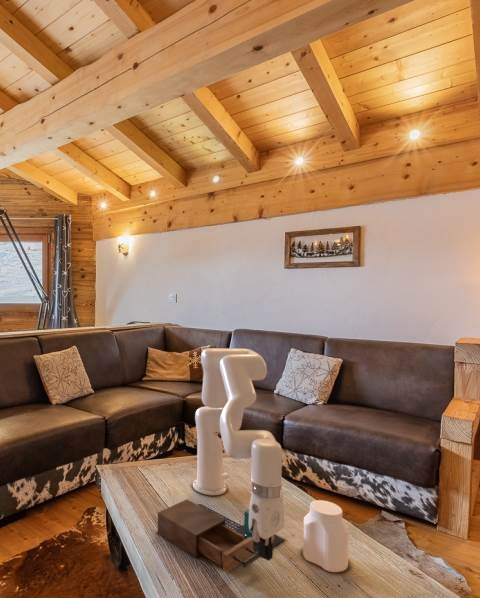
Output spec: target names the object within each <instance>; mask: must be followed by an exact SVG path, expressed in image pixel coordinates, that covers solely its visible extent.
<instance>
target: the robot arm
mask: <svg viewBox="0 0 480 598" xmlns="http://www.w3.org/2000/svg"><path fill="white" fill-rule="evenodd" d="M200 364H201V367H202V371H203V377H202V388H201V402H202V404H203V405H204V406H201V407H198V409H196V411H195V412H194V413H195V414H194V421H195V427H196V439H197V440H196V442H197V443H196V451H197V452H196V458H197V460H196V479H194V480H193V482H192V488H193V490H195V491H196V492H198V493H200V494H203V495H206V496H220V495H223V494H225V493H226V492H227V484H225V483H224V481H225V480H226V479H228V478H229V477H230V474H229V473H228V472H224V473H223V457H224V456H223V453H224V451H225V453H226V455H227V456H228V457H229V458H231V459H234V460H245V459H250V461H251V462H250V493H251V494H250V501H249V508H248V509H249V531H250V532H251V533H253V534H252V540H253V541H255V542H258V555H259V556H261V557H260V558H262V559H264V560H266V561H271V560H272V559H273V557H274V555H273V551H274V548H273V544H272V543H273V542H274V534H275V535H277V534H278V533H279V532H281V531H283V529H284V527H285V505H284V498H283V497H284V495H283V493H282V478H283V477H282V472H283V471H282V470H283V469H282V465H283V460H282V459H283V449H282V445H281V444H280V442H278V441H277V440H276V438H275V436H274V435H273V434H272V432H270V431H269V430H264V429H243V430H242V429H241V427H242V423H243V418H244V413H245V412H244V410H245V409H247V408H250V407H251V406H253V404H254V403H255V402H256V401H257V392H256V390H255V387H254V384H253V381H263V380H265V378H266V377H267V374H268V368H267V363H266V361H265V360H264V358H263V356H262V355H260V354H259V353H257V352H256V351H254V350H252V349H249V348H241V347H240V348H237V347H235V348H228V347H226V348H223V347H218V348H217V347H216V348H215V347H214V348H211V347H209V348H204V349H203V350H202V352H201V354H200ZM217 433H220V436H221V438H220V437H219V435H217ZM223 448H224V451H223Z"/></svg>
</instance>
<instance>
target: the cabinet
mask: <svg viewBox="0 0 480 598" xmlns="http://www.w3.org/2000/svg"><path fill="white" fill-rule="evenodd" d="M220 524H223V525H225V526H226V519H225V518H223V517H221V516H220V515H218V514H216V513H215V512H212V511H210V510H208V509H206V508H204V507H202V506H201V505H199V504H197V503H195V502H193V501H191V500H189V499H187V498H186V499H184V500H183V501H181V502H178V503H176V504H173V505H171V506H169V507H167V508H165V509H163V510H159V511H158V512H157V534H158V535H160V536H161V537H163V538H165V539H166V540H168V541H169V542H171V543H172V544H173V545H176V546H177V547H178V548H179V549H182V550H183V551H184V552H186V553H187V554H189V555H190V556H191V557H193V558H195V559H196V558H198V557H200V556H201V555H202V554H201V553H200V552H198V537H199V536H200V535H202V534H204V533H206V532H208V531H209V530H211V529H213V528H215V527H217V526H218V525H220Z"/></svg>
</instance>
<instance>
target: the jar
mask: <svg viewBox="0 0 480 598" xmlns="http://www.w3.org/2000/svg"><path fill="white" fill-rule="evenodd" d="M349 532H350V531H349V526H348V525H347V523H346V521H345V520H344V518H343V508H342V507H340V506H339V505H338V504H336V503H334V502H331V501H329V500H323V499H317V500H313V501H311V502H310V504H309V512H307V514H306V515H305V516H304V517H303V548H302V555H303V557H304V559H305V560H306V561H308V562H310V563H313V564H315V565H317V566H319V567H320V568H322V569H323V570H324V571H327V572H331V573H341V572H345V570H347V568H348V567H349Z"/></svg>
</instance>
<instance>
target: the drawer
mask: <svg viewBox="0 0 480 598" xmlns="http://www.w3.org/2000/svg"><path fill="white" fill-rule="evenodd" d="M198 552H200V553H201V555H203V556H204V557H206V558H207V559H209V560H210V561H212V562H214V563H215V564H217V565H218V566H222V571H223V572H224V573H228V572H230V571H231V570H233V569H235V568H236V567H237V566H240V564H241V566H242V567H243V568H247V567H248V566H250V565H251V564H252V563H254V562H256V561H257V560H258V559H260V558H262V557H261V556H259V555H258V551H257V552H255V551H253V540H252V538H251V537H249V538H247V539H245V540H244V536H243V535H241V534H240V533H238V532H236V530H234V529H233V528H230V527H228V526H226V524H225V525H223V524H220V525H218V526H217V527H215V528H213V529H211V530H209V531H208V532H206V533H204V534H202V535H200V536H199V537H198Z"/></svg>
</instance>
